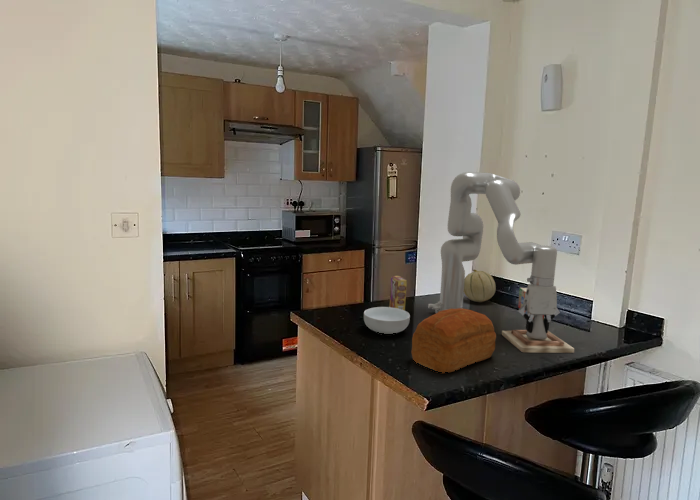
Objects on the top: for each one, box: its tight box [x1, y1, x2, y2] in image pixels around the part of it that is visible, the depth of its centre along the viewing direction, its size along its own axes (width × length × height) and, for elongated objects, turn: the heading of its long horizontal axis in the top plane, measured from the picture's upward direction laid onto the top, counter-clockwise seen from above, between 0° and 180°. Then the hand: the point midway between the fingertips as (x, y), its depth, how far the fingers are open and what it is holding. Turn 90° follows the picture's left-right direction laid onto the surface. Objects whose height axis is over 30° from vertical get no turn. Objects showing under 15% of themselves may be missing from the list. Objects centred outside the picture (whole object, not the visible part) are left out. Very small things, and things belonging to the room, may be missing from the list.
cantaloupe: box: [464, 269, 497, 303], centre depth 225 cm, size 15×15×15 cm
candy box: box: [388, 275, 408, 311], centre depth 200 cm, size 9×4×15 cm, turn 13°
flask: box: [526, 315, 547, 339], centre depth 170 cm, size 7×7×10 cm
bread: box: [410, 308, 497, 374], centre depth 152 cm, size 16×27×16 cm, turn 130°
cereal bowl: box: [363, 306, 411, 335], centre depth 177 cm, size 17×17×7 cm
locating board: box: [501, 329, 575, 354], centre depth 171 cm, size 18×18×3 cm
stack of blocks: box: [517, 287, 544, 320], centre depth 207 cm, size 21×6×12 cm, turn 0°
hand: (536, 331), depth 171 cm, fingers closed on flask, 4 cm apart
